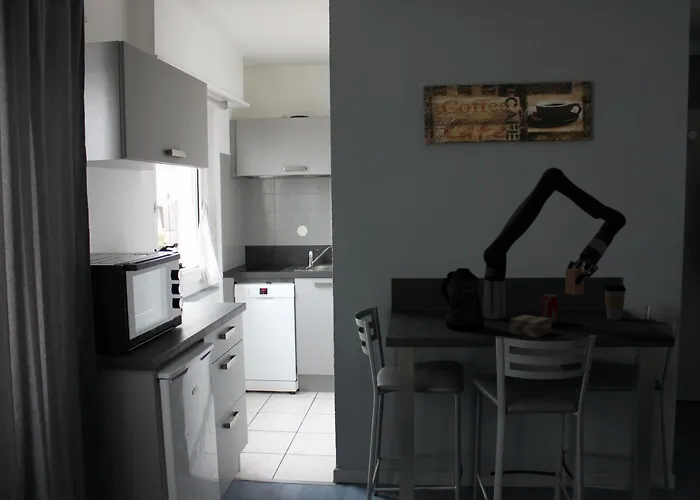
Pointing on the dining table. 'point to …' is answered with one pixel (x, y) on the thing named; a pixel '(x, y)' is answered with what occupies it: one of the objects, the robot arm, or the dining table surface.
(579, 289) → the terracotta block
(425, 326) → the dining table surface
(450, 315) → the beer stein
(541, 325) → the birch box
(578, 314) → the dining table surface
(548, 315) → the soda can
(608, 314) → the coffee cup
